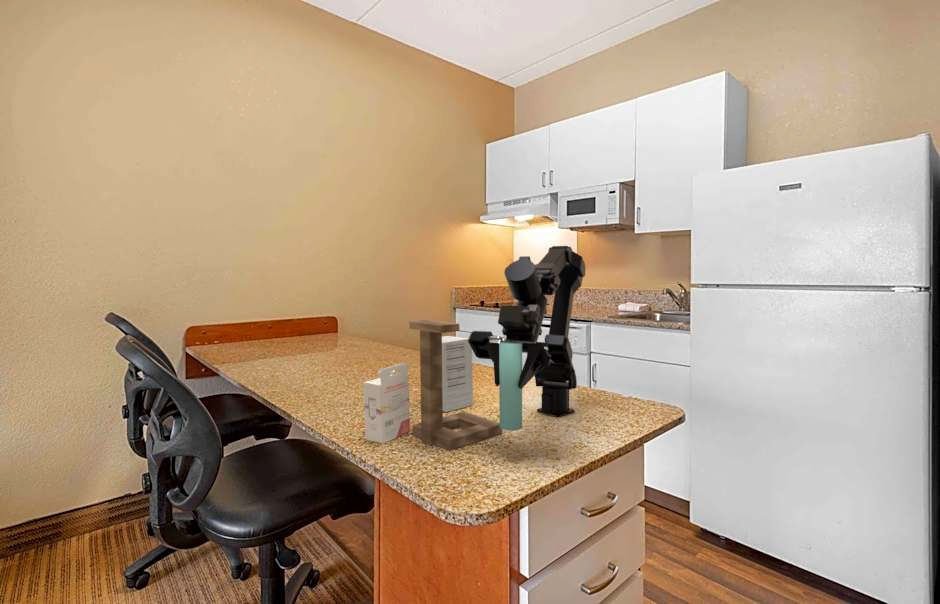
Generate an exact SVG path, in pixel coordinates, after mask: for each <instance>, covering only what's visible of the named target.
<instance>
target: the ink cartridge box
mask: <svg viewBox="0 0 940 604" xmlns="http://www.w3.org/2000/svg"><path fill="white" fill-rule="evenodd" d="M393 370H395V372H396V371H398V373H397V372H396V373H395V374H394V375H390V372H393ZM408 370H409V369H408V364H407V362H402V363H399V364H395V365H394V364H393V365H391V366H388V367H384V368H380V369H379V371H380V378H378V377H377V378H375V379H372V380H368V381H363V405H364V406H363V407H364V431H365V432H364V433H365V436H364V438H365V441H369V442H373V443H378V444H381V445H382V444H385V443H388V442H390V441H392V440H394V439H396V438H399V437H402V436H403V435H405V434H407V433H409V432H410V431H411V427H410V426H411V424H410V421H411V420H410V416H411V415H410V380H409V379H410V378H409V371H408Z"/></svg>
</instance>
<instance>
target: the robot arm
mask: <svg viewBox="0 0 940 604" xmlns="http://www.w3.org/2000/svg"><path fill="white" fill-rule="evenodd" d="M547 251H548V252H547V253H546V254H545V256H544V257H542V259H541V260H540V261H539V262H538V263H536V264H535V263H534V262H532V260H531V257H530V256H527V255H526V256H524V255H523V256H519V258H518V260H514V261H513V262H511V263H510V264H509V265H508V266H506V267H505V269H504V276H505V279H506V282H507V285H508V288H509V290H510V293H511V296H512V299H514V300H516V301H517V303H516V305H501V306H500V308H499V314H498V320H497V324H498V325H500V326H501V327H502V330H501V332H502V335H503V336H505V338H502V337H501V336H494V335H493V332H492V331H491V330H490V331H487V330H472V332H471V333H470V335H469V337H468V338H469V339H468V342H469V344H470V346H471V348H472V353H474V354H473V355H475V357H476V358H478V359H479V360H481V359H483V360H491V362H492V363H493V372H494V373H493V377H494V384H495V386H496V387H499V343H500V342H505V341H516V342H522V354H523V353H524V354H526V358H525V362H524V364H523V366H522V373H521V376H520V379H519V384H518V386H519V388H520V389H522V390H523V388H525V386H526V385H527V384H528V383H529V382H530V381H531V379H533V378H534V379H535V386H536V387H541V388H542V389H541V390H542V391H541V392H542V393H541V407H539V408H537V409H536V412H538V413H542V414H546V415H548V416H549V415H550V416H552V417H557V418H559V417H563V416H566V415H568V414H572V413H575V409H573V408H570V391H571V390H573V389H574V390H575V389H577V388H578V387H577V386H578V385H577V384H578V383H577V382H578V381H577V375H576V370H575V369H574V364H573V361H572V360H573V349H572V345H571V341H570V338H569V332H570V323H571V316H572V309H573V302H574V295H575V293H576V292H577V291H578V290H579V289H580V288H581V286H582V284H583V278H584V277H585V276H586V264H585V261H584V258H583V256H582V255H581V254H578V253H577V252H575V251H573V249H572V247H571V246H568V245H552V246H550V247H549V248H548V250H547ZM546 296H554V297H553V302H552V303H553V304H552V310H551V316H550V324H549V331H548V334H547V333H546V334H545V336H544V341H538V340H539V336H541V335H542V333H543V329H542V325H543V322H544V317H545V315H547V313H548V310H547V306H548V301H549V300H548V298H547V297H546Z"/></svg>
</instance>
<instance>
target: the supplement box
mask: <svg viewBox="0 0 940 604" xmlns="http://www.w3.org/2000/svg"><path fill="white" fill-rule="evenodd" d="M468 339H469V337H459V336H453V335H442V403H443V412H444V413H448V412H451V411H455V410H458V409H459V410H460V409H463V408H467V407H468V408H469V407H471V406H474V393H473V392H474V388H473V387H474V386H473V385H474V382H473V381H474V380H473V379H474V377H473V350H472V348H471V346H470V344H469V342H468Z"/></svg>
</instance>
